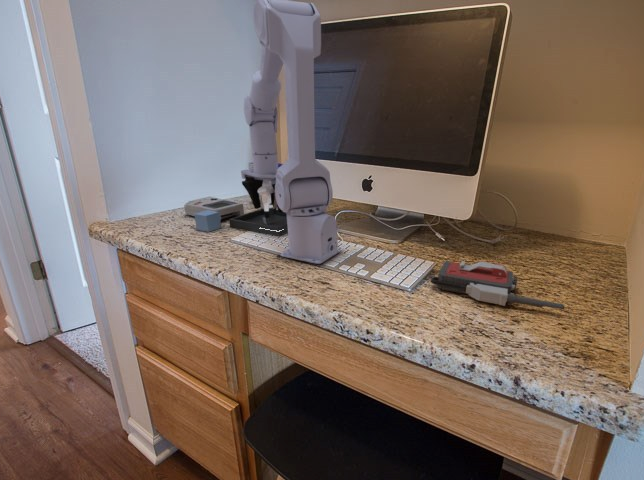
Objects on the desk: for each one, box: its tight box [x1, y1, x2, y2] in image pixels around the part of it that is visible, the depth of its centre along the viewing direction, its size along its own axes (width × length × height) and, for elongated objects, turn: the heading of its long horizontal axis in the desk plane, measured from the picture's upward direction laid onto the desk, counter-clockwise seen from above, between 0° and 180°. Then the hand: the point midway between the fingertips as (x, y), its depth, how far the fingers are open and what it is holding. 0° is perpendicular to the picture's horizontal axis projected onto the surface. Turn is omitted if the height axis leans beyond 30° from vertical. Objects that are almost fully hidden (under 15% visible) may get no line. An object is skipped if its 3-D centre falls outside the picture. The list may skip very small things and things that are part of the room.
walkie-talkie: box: [430, 260, 566, 310], centre depth 60 cm, size 9×4×20 cm
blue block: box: [193, 210, 222, 233], centre depth 90 cm, size 4×4×4 cm
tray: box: [228, 208, 288, 237], centre depth 95 cm, size 15×13×2 cm
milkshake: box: [258, 186, 277, 224], centre depth 93 cm, size 5×5×10 cm
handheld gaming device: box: [183, 196, 245, 222], centre depth 101 cm, size 9×15×4 cm, turn 57°
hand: (270, 209), depth 94 cm, fingers open, 7 cm apart
